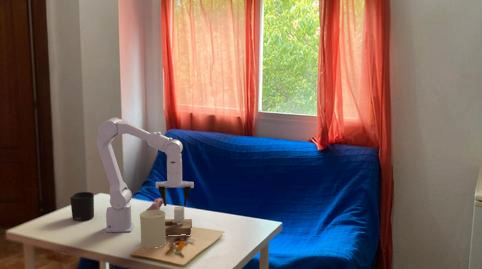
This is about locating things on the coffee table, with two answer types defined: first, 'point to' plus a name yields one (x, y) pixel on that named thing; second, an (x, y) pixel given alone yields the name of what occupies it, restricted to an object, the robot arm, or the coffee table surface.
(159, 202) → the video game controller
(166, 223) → the keyhole plate
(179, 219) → the steel peg
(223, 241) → the coffee table surface
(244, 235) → the coffee table surface
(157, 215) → the can
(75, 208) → the pen holder
